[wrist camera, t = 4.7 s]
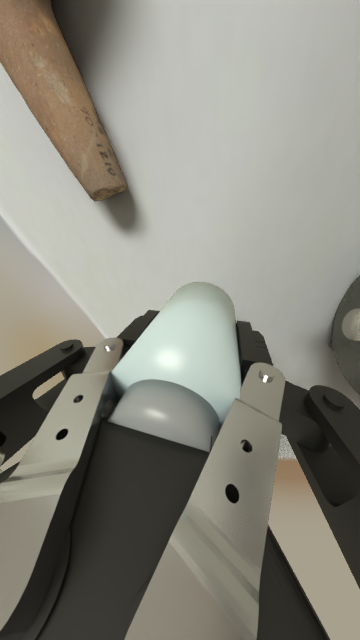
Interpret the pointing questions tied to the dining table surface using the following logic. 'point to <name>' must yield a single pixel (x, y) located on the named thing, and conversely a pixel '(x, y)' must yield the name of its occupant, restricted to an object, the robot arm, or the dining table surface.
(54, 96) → the pipe
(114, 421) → the domed pale cylinder
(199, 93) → the dining table surface
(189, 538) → the robot arm
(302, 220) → the dining table surface
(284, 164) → the dining table surface
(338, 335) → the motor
